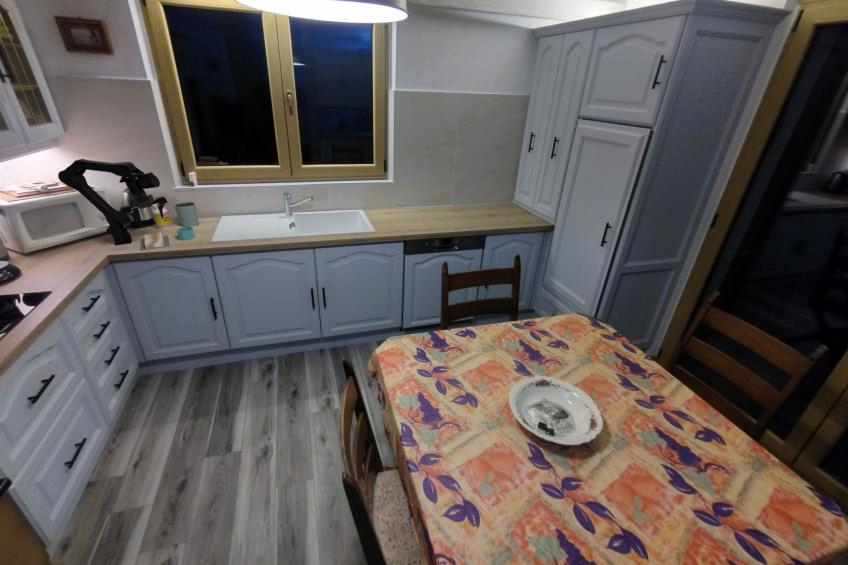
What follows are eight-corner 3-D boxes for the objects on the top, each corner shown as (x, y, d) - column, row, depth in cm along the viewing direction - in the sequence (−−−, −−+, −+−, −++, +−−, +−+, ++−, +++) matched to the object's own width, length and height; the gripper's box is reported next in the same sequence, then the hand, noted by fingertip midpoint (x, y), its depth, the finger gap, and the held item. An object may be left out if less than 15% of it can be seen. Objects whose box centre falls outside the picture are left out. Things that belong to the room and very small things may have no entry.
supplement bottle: (167, 229, 208) (160, 206, 202) (154, 229, 208) (147, 206, 202) (174, 225, 214) (168, 203, 208) (162, 225, 214) (155, 202, 208)
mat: (140, 251, 181) (140, 250, 181) (140, 240, 194) (140, 239, 194) (170, 247, 187) (169, 246, 187) (168, 236, 200) (168, 235, 200)
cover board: (146, 248, 183) (144, 244, 182) (146, 239, 194) (144, 234, 193) (164, 246, 187) (162, 241, 186) (162, 237, 197) (161, 232, 196)
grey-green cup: (194, 228, 211) (188, 207, 205) (175, 228, 211) (169, 206, 205) (203, 222, 220) (198, 202, 214) (186, 222, 220) (180, 201, 214)
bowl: (180, 242, 193) (177, 232, 191) (179, 237, 198) (176, 228, 196) (195, 239, 197) (193, 230, 194) (194, 235, 202) (192, 226, 199)
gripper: (114, 198, 168) (132, 231, 176) (161, 186, 178) (176, 218, 186) (112, 195, 176) (129, 227, 184) (158, 184, 186) (172, 215, 194)
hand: (152, 222), depth 186 cm, fingers open, 9 cm apart
